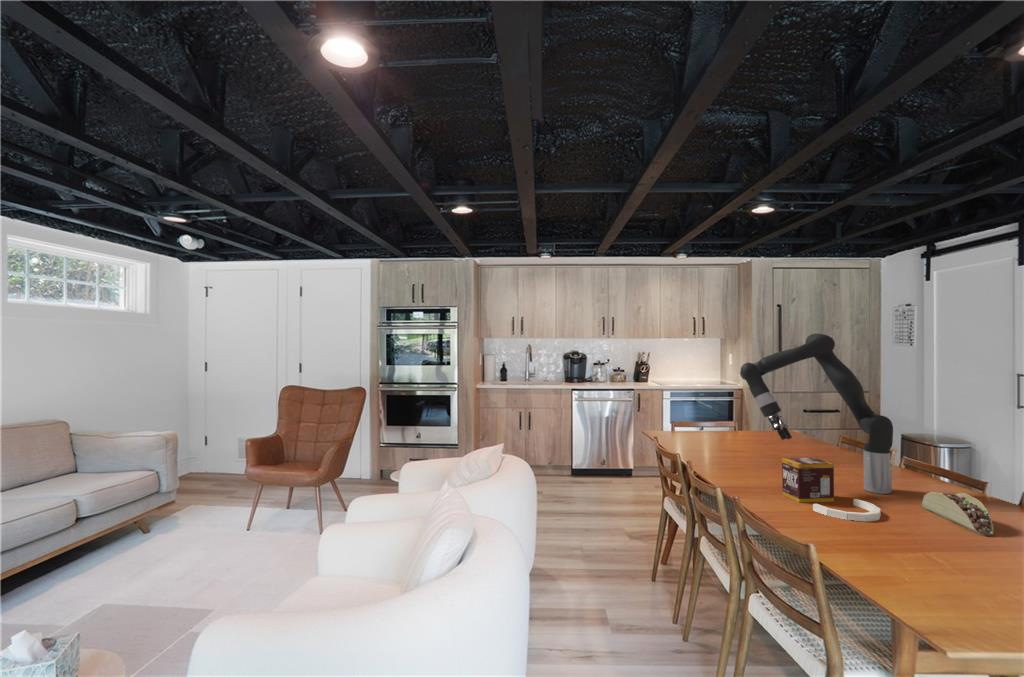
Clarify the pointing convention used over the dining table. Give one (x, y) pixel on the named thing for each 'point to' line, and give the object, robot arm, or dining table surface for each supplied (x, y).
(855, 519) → the segmented curved arch
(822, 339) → the robot arm
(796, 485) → the supplement box
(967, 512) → the taco
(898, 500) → the dining table surface
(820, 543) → the dining table surface
